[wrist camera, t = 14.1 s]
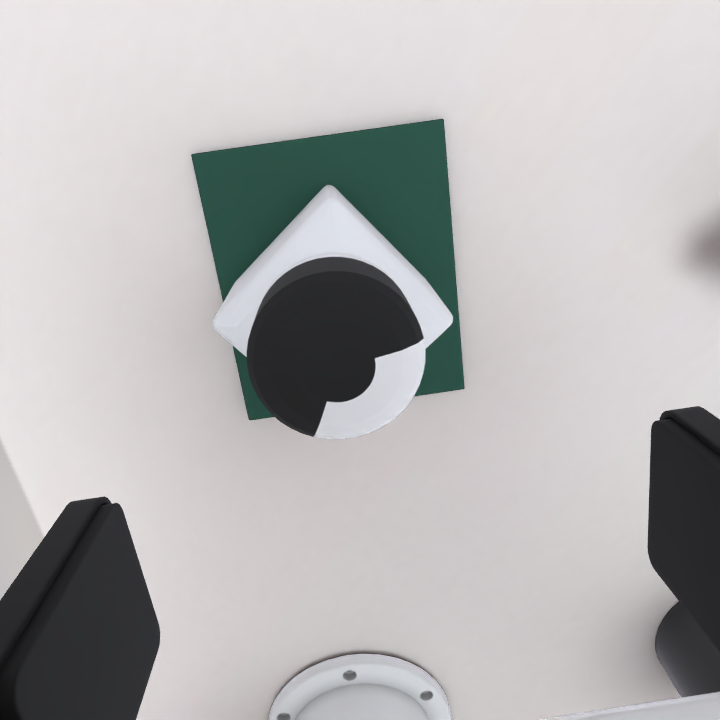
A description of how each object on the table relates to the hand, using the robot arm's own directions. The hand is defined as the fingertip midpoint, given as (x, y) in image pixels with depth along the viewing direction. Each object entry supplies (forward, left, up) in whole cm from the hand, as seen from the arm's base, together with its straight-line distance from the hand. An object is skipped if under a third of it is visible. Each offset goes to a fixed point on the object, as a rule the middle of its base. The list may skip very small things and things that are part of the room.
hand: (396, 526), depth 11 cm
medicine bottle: (-1, +1, -22) cm, 22 cm away
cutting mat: (0, 0, -22) cm, 22 cm away
